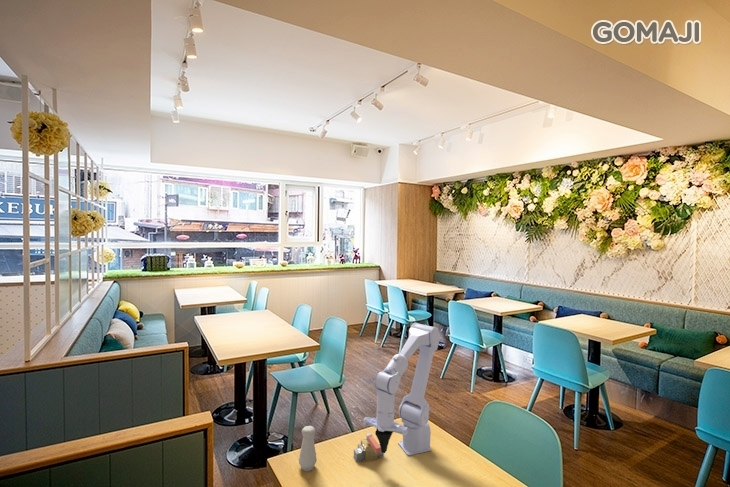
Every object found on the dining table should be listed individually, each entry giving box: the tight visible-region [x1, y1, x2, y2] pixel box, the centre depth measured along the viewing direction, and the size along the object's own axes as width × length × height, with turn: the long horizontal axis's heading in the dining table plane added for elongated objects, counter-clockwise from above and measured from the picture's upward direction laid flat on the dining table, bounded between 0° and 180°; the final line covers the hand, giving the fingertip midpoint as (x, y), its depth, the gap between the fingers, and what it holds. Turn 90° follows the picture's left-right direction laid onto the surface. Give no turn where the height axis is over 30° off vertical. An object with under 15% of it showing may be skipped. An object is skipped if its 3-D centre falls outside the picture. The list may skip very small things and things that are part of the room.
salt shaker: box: [298, 425, 317, 472], centre depth 117 cm, size 6×6×13 cm
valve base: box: [353, 438, 385, 463], centre depth 124 cm, size 10×4×6 cm, turn 111°
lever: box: [365, 432, 381, 453], centre depth 120 cm, size 9×2×2 cm, turn 21°
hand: (384, 451), depth 117 cm, fingers closed
